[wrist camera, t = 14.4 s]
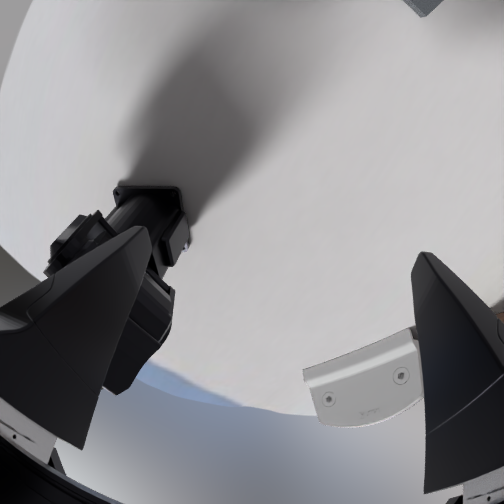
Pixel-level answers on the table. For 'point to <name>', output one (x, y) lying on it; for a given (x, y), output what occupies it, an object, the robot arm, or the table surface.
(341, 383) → the hinge
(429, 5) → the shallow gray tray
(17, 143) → the table surface
